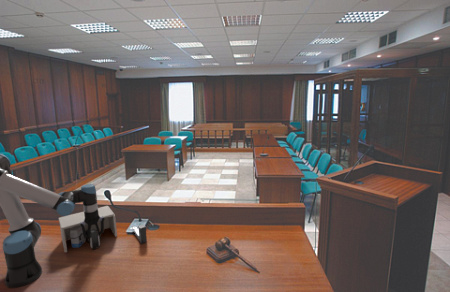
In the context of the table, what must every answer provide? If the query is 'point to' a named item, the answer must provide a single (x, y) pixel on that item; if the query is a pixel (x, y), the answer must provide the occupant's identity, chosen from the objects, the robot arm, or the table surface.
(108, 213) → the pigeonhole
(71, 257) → the table surface
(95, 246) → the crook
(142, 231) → the plain bar
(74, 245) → the ink box
